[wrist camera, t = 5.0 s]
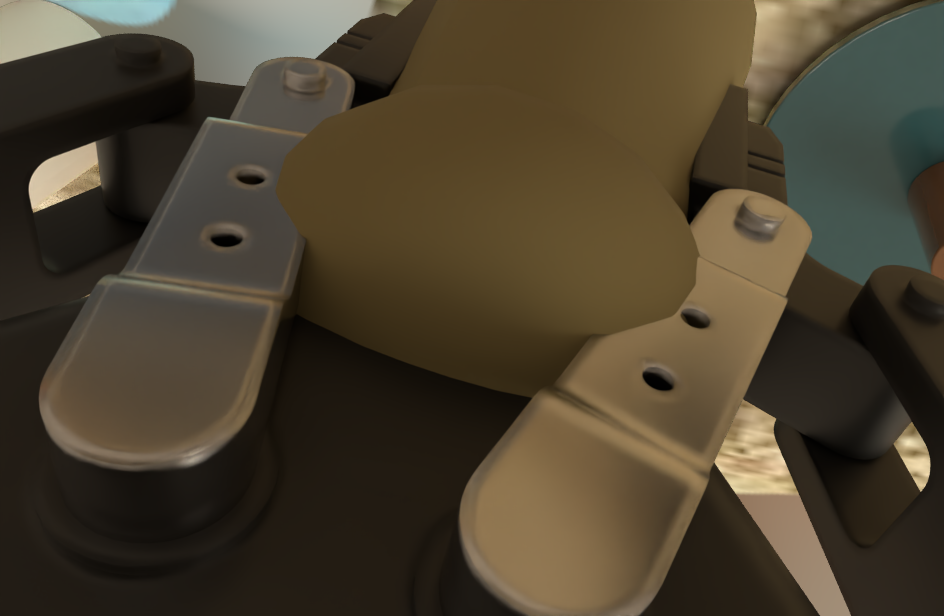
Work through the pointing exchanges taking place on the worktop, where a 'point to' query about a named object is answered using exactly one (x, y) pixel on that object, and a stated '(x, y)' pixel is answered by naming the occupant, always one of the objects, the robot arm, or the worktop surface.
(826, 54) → the lid
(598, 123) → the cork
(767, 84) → the worktop surface
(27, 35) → the cylindrical container
